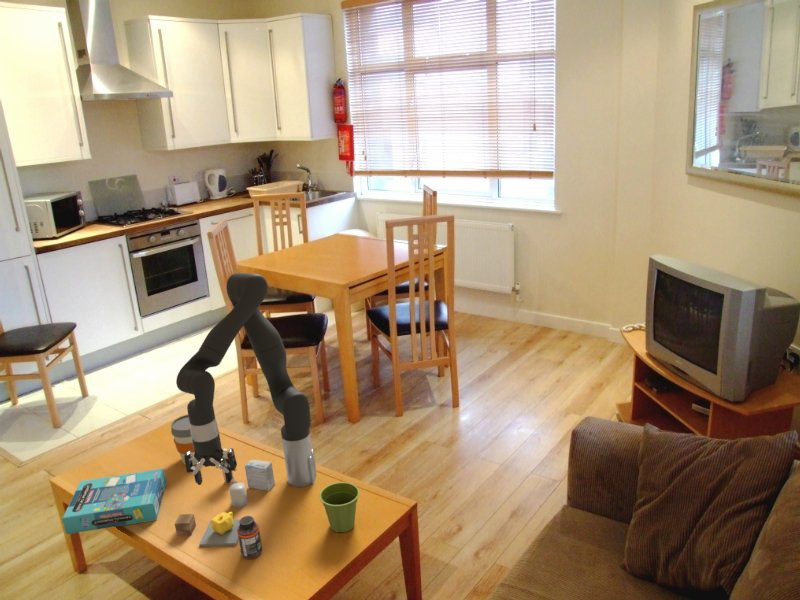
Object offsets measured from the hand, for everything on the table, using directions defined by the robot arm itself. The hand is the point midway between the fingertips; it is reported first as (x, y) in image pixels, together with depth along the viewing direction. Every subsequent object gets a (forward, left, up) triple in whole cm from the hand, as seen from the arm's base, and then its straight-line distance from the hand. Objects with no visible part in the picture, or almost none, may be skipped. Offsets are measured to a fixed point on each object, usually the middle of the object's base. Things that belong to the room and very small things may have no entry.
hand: (214, 482), depth 194 cm
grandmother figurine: (+6, -27, -18) cm, 33 cm away
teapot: (0, 0, -17) cm, 17 cm away
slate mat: (0, 0, -18) cm, 18 cm away
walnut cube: (+12, -2, -18) cm, 22 cm away
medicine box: (-6, -24, -18) cm, 31 cm away
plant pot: (-36, -2, -18) cm, 40 cm away
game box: (+25, -17, -15) cm, 34 cm away
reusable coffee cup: (+23, -43, -18) cm, 52 cm away
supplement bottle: (-11, +9, -18) cm, 23 cm away
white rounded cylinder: (-1, -15, -18) cm, 23 cm away
